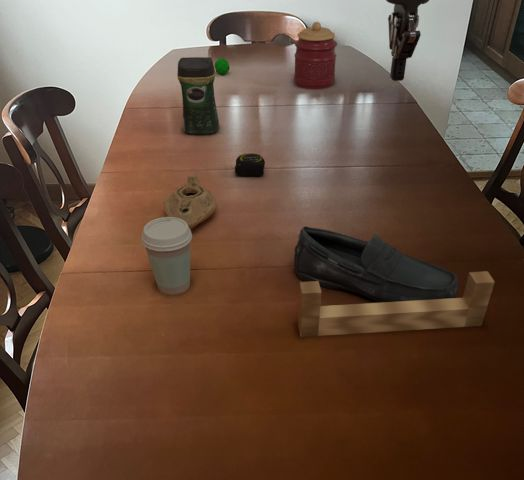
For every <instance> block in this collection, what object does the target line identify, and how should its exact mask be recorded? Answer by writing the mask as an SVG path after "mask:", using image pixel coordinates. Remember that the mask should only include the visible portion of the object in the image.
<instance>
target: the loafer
mask: <svg viewBox="0 0 524 480" xmlns="http://www.w3.org/2000/svg"><path fill="white" fill-rule="evenodd" d="M293 257H294V271H295V274H296V275H297V277H298V278H299V279H300V280H301V281H302V282H310V281H319V285H320V288H324V289H326V288H327V289H328V290H333V291H336V290H337V291H346V292H351V293H355V294H360V295H362V296H363V297H366V298H368V299H371V300H373V301H375V303H382V302H399V301H416V300H433V299H450V298H457V296H458V290H459V279H458V277H457V275H456V273H454V272H453V271H450V270H448V269H446V268H444V267H441V266H438V265H435V264H433V263H430V262H428V261H426V260H422V259H419V258H416V257H413V256H410V255H408V254H405V253H403V252H401V251H400V250H398V249H397V248H396V247H393V246H392V245H391V244H389V243H388V242H386V241H384V239H382V238H380V237H379V236H378V235H377V234H375V233H373V234H372V236H371V238H370V239H369V241H367V240H363V239H360V238H356V237H353V236H349V235H347V234H343V233H341V232H336V231H332V230H329V229H324V228H318V227H311V226H303V227H302V228H301V229H300V231H299V234H298V241H297V244H296V245H295V246H294V256H293Z"/></svg>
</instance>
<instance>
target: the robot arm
mask: <svg viewBox="0 0 524 480" xmlns="http://www.w3.org/2000/svg"><path fill="white" fill-rule="evenodd" d="M385 1H386V2H387V3H389V4H391V5H393V12H391V14H389V15H388V18H387V21H388V45H389V46H388V47H389V50H391V52H390V54H391V58H392V59H391V66H390V75H389V77H390V79H391V80H392V81H393V82H401V81H403V80H405V73H406V66H407V60H408V59H411V58H412V57H413V55H414V52H415V50H416V48H417V45H418V43H419V40H420V39H421V35H422V33H421V30H417V28H418V27H419V22H420V16H419V12H418V11H419V7H420V6H421V5H425V4H427V3H429V1H430V0H385Z"/></svg>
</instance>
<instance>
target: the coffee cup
mask: <svg viewBox="0 0 524 480" xmlns="http://www.w3.org/2000/svg"><path fill="white" fill-rule="evenodd" d="M192 239H193V234H192V229H190V228H189V227H188V225H187V223H186V222H185V221H184V220H182V219H180V218H176V217H168V216H162V217H158V218H155V219H152V220H150V221H148V222H147V223H146V224H145V225H144V227H143V231H142V234H141V244H142V245H143V246H144V247H145V250H146V254H147V258H148V260H149V263H150V267H151V270H152V274H153V277H154V280H155V282H156V283H155V284H156V287H157V290H158V291H159V292H161V293H162V294H165V295H170V296H171V295H172V296H174V295H179V294H182V293H185V292H186V291H187V290H189V288H190V287H191V254H192V253H191V247H192V245H191V243H192Z"/></svg>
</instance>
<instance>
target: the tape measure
mask: <svg viewBox="0 0 524 480" xmlns="http://www.w3.org/2000/svg"><path fill="white" fill-rule="evenodd" d="M265 164H266V162H265V159H264V157H263V156H262V155H261V154H258V153H254V152H251V153H250V152H249V153H247V152H246V153H243V154H240V155H238V157H236V160H235V166H234V173H235V174H236V175H237V176H243V177H244V176H245V177H262V176H264V174H265V171H264V170H265V166H266V165H265Z"/></svg>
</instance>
